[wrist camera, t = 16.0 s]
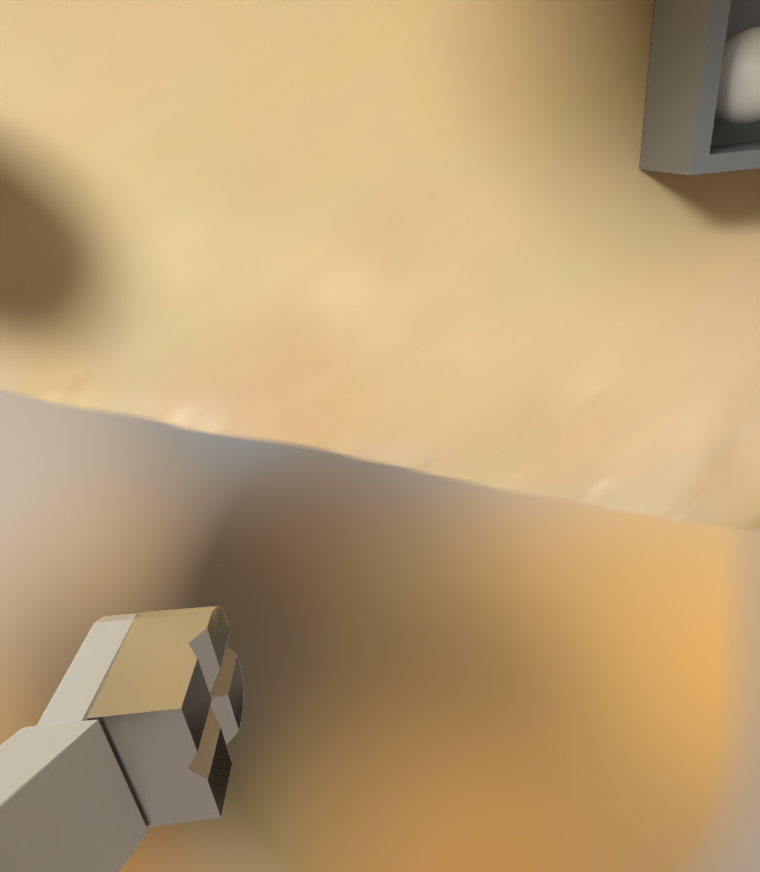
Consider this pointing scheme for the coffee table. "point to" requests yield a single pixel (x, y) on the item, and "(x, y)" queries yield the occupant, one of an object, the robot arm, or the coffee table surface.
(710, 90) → the storage box
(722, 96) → the off-white ball
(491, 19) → the coffee table surface
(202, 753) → the robot arm
